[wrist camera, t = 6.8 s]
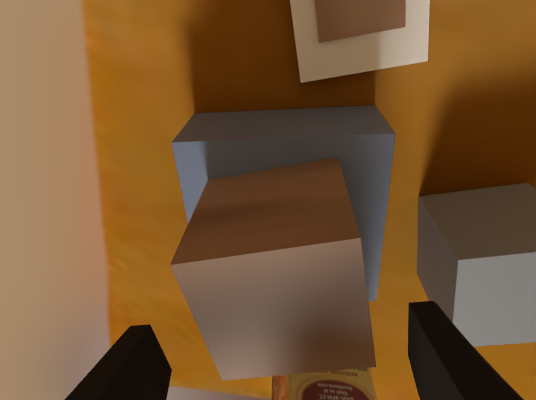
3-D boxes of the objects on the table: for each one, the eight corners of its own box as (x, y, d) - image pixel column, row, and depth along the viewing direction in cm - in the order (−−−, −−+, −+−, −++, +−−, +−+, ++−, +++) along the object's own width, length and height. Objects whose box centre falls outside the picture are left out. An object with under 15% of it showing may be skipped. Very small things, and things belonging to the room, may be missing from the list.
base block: (361, 247, 20) (376, 300, 17) (218, 249, 21) (204, 301, 17) (373, 102, 16) (395, 133, 13) (196, 111, 17) (171, 142, 13)
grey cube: (512, 263, 20) (574, 339, 15) (416, 272, 20) (450, 348, 16) (526, 181, 17) (605, 245, 13) (417, 195, 18) (458, 260, 14)
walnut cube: (352, 262, 16) (376, 367, 11) (240, 277, 16) (222, 380, 12) (338, 156, 13) (360, 238, 9) (207, 180, 14) (169, 265, 10)
